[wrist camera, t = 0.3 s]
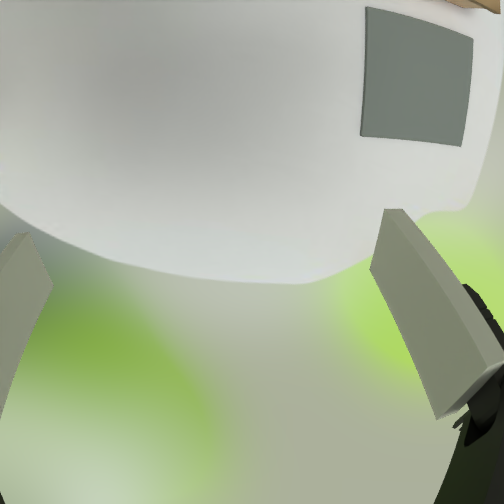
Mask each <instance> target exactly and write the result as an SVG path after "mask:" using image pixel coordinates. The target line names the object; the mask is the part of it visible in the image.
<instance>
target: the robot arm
mask: <svg viewBox="0 0 504 504" xmlns="http://www.w3.org/2000/svg"><path fill="white" fill-rule="evenodd" d="M370 271H371V273H372V275H373V277H374V279H375V281H376V283H377V285H378V287H379V289H380V291H381V293H382V295H383V297H384V299H385V301H386V303H387V305H388V307H389V309H390V311H391V313H392V315H393V318H394V320H395V322H396V324H397V326H398V328H399V330H400V333H401V335H402V337H403V339H404V341H405V344H406V346H407V348H408V350H409V353H410V355H411V357H412V359H413V362H414V364H415V367H416V369H417V371H418V374H419V376H420V379H421V381H422V384H423V386H424V389H425V391H426V394H427V396H428V399H429V401H430V404H431V407H432V409H433V412H434V415H435V417H436V420H438V419H441V418H444V417H446V416H449V415H451V414H454V413H456V412H457V411H459V410H460V409H461V408H462V407H463V406H464V405H465V404H466V403H467V404H468V407H469V410H468V411H467V412H466V413H465V414H464V415H463V416H462V417H460V418H459V419H458V420H457V421H456V422H455V424H454V425H453V428H454V429H455V428H457V427H458V426H459V425H460V424H461V423H463V425H462V427H461V428H460V429H459V430H460V431H461V432H460V435H459V438H458V441H457V444H456V448H455V451H454V454H453V456H452V459H451V462H450V465H449V468H448V470H447V473H446V475H445V478H444V480H443V483H442V485H441V488H440V490H439V493H438V495H437V497H436V499H435V502H434V504H504V333H503V331H502V329H501V328H500V326H499V325H498V323H497V321H496V320H495V319H493V315H492V314H491V312H490V311H489V310H488V309H487V306H486V305H485V303H484V302H483V300H482V299H481V297H480V296H479V294H478V293H476V292H475V291H474V290H473V289H472V288H471V287H470V286H468V285H467V284H461V283H460V281H459V280H458V279H457V277H456V276H455V275H454V273H453V272H452V270H451V269H450V268H449V266H448V265H447V264H446V262H445V261H444V260H443V258H442V257H441V256H440V254H439V253H438V252H437V250H436V249H435V248H434V247H433V245H432V244H431V243H430V241H429V240H428V239H427V238H426V237H425V235H424V234H423V233H422V232H421V230H420V229H419V228H418V227H417V226H416V224H415V223H414V222H413V221H412V220H411V218H410V217H409V216H408V215H407V214H406V213H405V211H404V210H403V209H384V213H383V217H382V222H381V226H380V230H379V234H378V239H377V243H376V247H375V251H374V254H373V258H372V262H371V266H370ZM53 286H54V285H53V283H52V281H51V279H50V277H49V275H48V273H47V271H46V269H45V267H44V265H43V262H42V260H41V258H40V256H39V254H38V251H37V249H36V247H35V244H34V242H33V240H32V238H31V235H30V233H29V232H25V233H18V234H16V235H15V236H14V237H13V238H12V240H11V241H10V242H9V244H8V245H7V246H6V247H5V249H4V250H3V251H2V253H1V254H0V418H1V415H2V412H3V408H4V405H5V402H6V399H7V395H8V392H9V389H10V387H11V383H12V380H13V378H14V375H15V372H16V370H17V367H18V364H19V362H20V359H21V357H22V354H23V352H24V349H25V347H26V344H27V342H28V340H29V337H30V335H31V333H32V330H33V328H34V326H35V324H36V322H37V319H38V317H39V315H40V313H41V311H42V309H43V307H44V305H45V302H46V300H47V298H48V296H49V294H50V292H51V291H52V289H53ZM0 504H5V502H4V500H3V497H2V495H1V493H0Z"/></svg>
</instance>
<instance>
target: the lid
mask: <svg viewBox="0 0 504 504" xmlns="http://www.w3.org/2000/svg"><path fill="white" fill-rule="evenodd" d="M469 1H471V2H473V3H475V4H477V5H479V6H481V7H483V8H485V9H487V10H489V11H490V12H492V13H494V14H501V13H500V0H469Z"/></svg>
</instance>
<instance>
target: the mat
mask: <svg viewBox="0 0 504 504" xmlns="http://www.w3.org/2000/svg"><path fill="white" fill-rule="evenodd" d="M365 8H366V39H365V72H364V91H363V106H362V119H361V130H360V136H362V137H377V138H390V139H402V140H412V141H422V142H430V143H438V144H446V145H453V146H459V147H461V145H462V140H463V134H464V129H465V123H466V116H467V109H468V102H469V94H470V84H471V74H472V60H473V38H470V37H468V36H465V35H463V34H460V33H458V32H455V31H452V30H450V29H447V28H444V27H441V26H438V25H435V24H432V23H429V22H426V21H423V20H420V19H416V18H413V17H409V16H405V15H402V14H398V13H394V12H390V11H385V10H381V9H376V8H371V7H365Z"/></svg>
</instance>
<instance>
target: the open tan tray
mask: <svg viewBox="0 0 504 504" xmlns="http://www.w3.org/2000/svg"><path fill="white" fill-rule="evenodd" d="M446 1H448V2H451V3H453V4H455V5H458V6H460V7H462V8H483V7H481V6H479V5H477V4H475V3H473V2H471V1H469V0H446ZM484 9H485V8H484Z"/></svg>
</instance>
